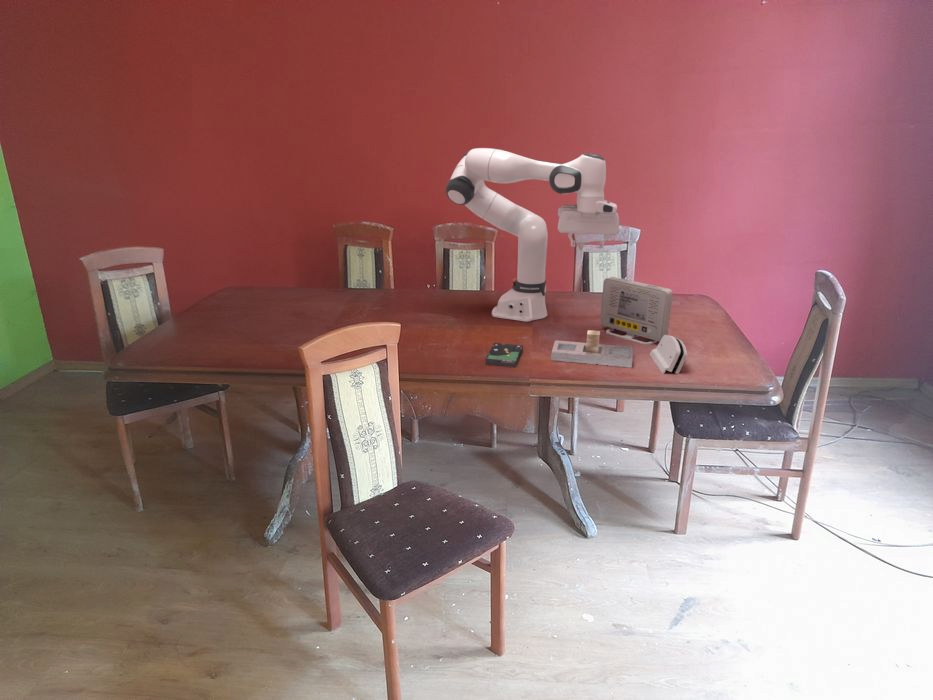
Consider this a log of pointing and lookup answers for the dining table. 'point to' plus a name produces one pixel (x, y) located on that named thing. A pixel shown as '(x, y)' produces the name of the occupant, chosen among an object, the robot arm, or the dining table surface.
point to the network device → (636, 309)
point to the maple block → (592, 341)
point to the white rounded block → (669, 354)
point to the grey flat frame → (592, 354)
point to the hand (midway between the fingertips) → (586, 246)
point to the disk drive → (504, 355)
